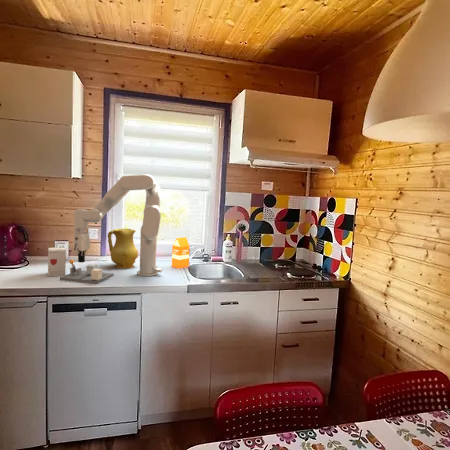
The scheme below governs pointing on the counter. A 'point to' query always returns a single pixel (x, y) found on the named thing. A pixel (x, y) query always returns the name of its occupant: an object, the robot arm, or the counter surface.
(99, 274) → the cream slider
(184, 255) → the orange juice
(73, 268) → the lever
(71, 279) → the panel
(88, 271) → the white cube
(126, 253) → the pitcher
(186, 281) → the counter surface
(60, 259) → the supplement box
